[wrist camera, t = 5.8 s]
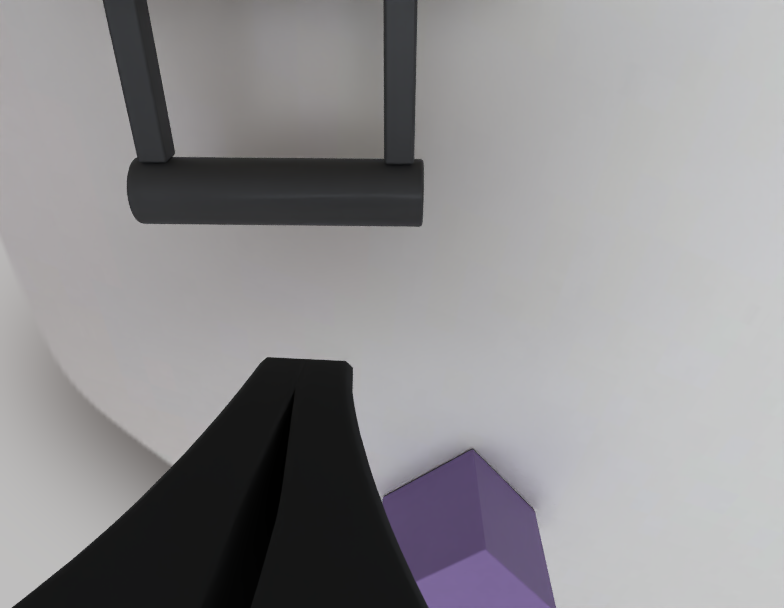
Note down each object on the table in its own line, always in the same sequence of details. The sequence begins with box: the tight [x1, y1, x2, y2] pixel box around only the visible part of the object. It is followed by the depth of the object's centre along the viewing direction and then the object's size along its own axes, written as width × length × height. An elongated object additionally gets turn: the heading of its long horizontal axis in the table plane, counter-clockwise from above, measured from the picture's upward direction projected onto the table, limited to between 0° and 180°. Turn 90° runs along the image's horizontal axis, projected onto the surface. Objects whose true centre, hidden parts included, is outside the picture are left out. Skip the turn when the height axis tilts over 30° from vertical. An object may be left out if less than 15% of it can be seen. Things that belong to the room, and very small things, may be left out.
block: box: [383, 449, 556, 608], centre depth 23 cm, size 4×4×4 cm
